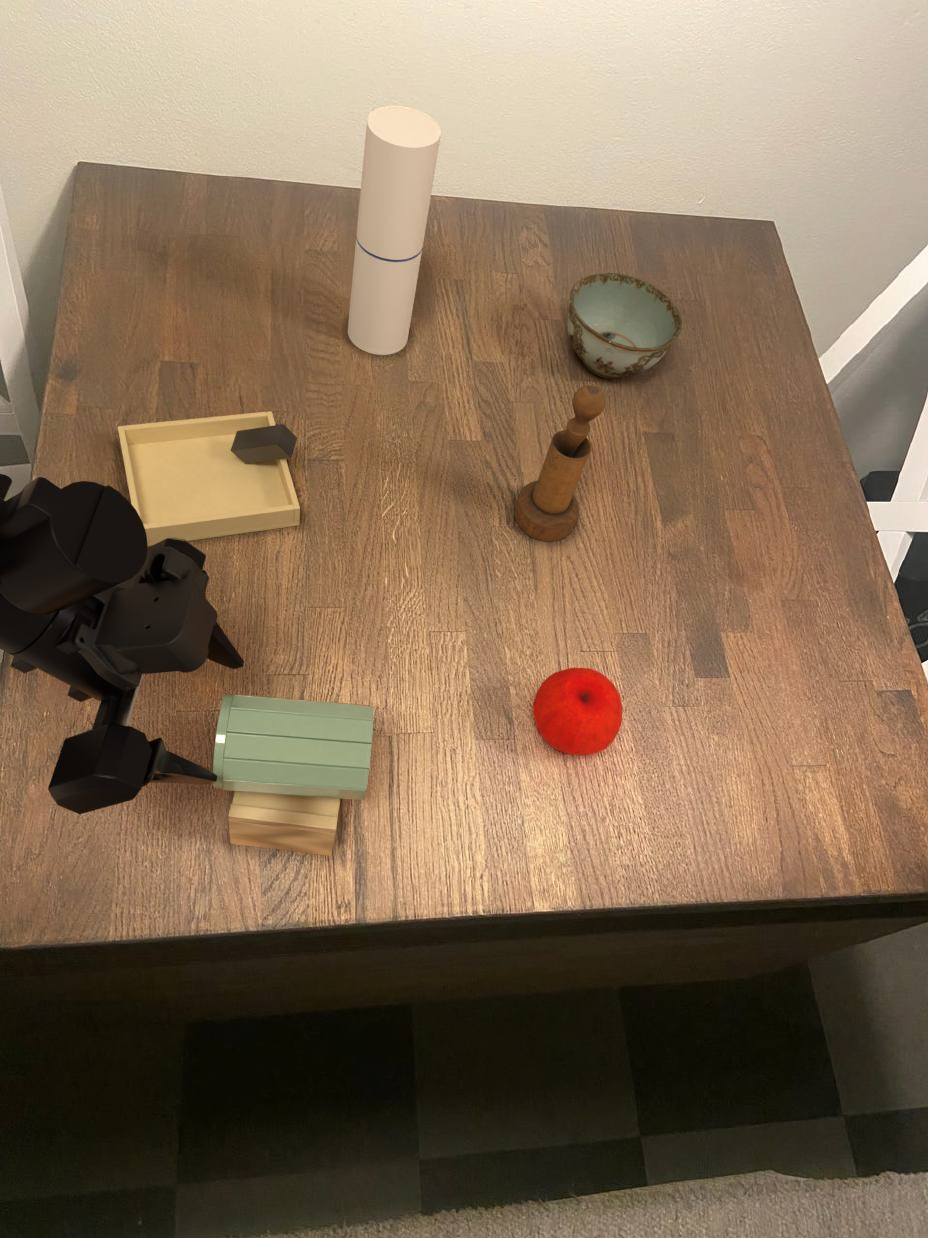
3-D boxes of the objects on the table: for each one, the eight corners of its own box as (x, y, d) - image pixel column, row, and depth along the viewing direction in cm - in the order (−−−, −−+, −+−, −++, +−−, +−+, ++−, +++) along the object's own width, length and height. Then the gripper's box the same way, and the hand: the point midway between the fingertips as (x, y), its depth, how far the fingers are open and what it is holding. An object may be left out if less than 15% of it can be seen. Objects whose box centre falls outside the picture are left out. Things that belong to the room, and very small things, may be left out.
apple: (569, 677, 87) (592, 636, 81) (626, 741, 84) (654, 703, 78) (506, 719, 83) (525, 679, 77) (563, 787, 80) (587, 751, 74)
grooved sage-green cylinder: (215, 802, 69) (210, 764, 63) (228, 719, 73) (225, 676, 67) (361, 813, 70) (369, 776, 65) (366, 731, 74) (375, 689, 69)
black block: (291, 458, 90) (297, 437, 91) (277, 444, 88) (283, 423, 89) (245, 463, 93) (251, 444, 94) (229, 450, 91) (236, 430, 92)
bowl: (540, 377, 109) (558, 323, 103) (565, 312, 117) (583, 258, 110) (649, 415, 109) (673, 363, 102) (666, 347, 117) (690, 295, 110)
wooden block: (230, 844, 72) (227, 816, 67) (253, 735, 78) (252, 701, 73) (331, 856, 73) (335, 829, 68) (347, 747, 79) (352, 715, 74)
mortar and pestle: (502, 503, 97) (544, 374, 82) (551, 486, 100) (601, 358, 85) (535, 549, 94) (585, 424, 80) (585, 531, 97) (642, 406, 82)
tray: (139, 547, 86) (136, 529, 84) (120, 445, 92) (117, 425, 90) (299, 525, 91) (300, 508, 88) (271, 429, 97) (271, 410, 95)
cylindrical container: (352, 354, 106) (373, 144, 85) (343, 313, 109) (362, 102, 89) (412, 354, 107) (447, 149, 87) (402, 314, 111) (433, 108, 90)
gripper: (71, 720, 46) (287, 827, 56) (162, 451, 56) (330, 582, 67) (-51, 764, 51) (166, 854, 62) (53, 511, 62) (224, 624, 72)
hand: (227, 721), depth 65 cm, fingers open, 9 cm apart
